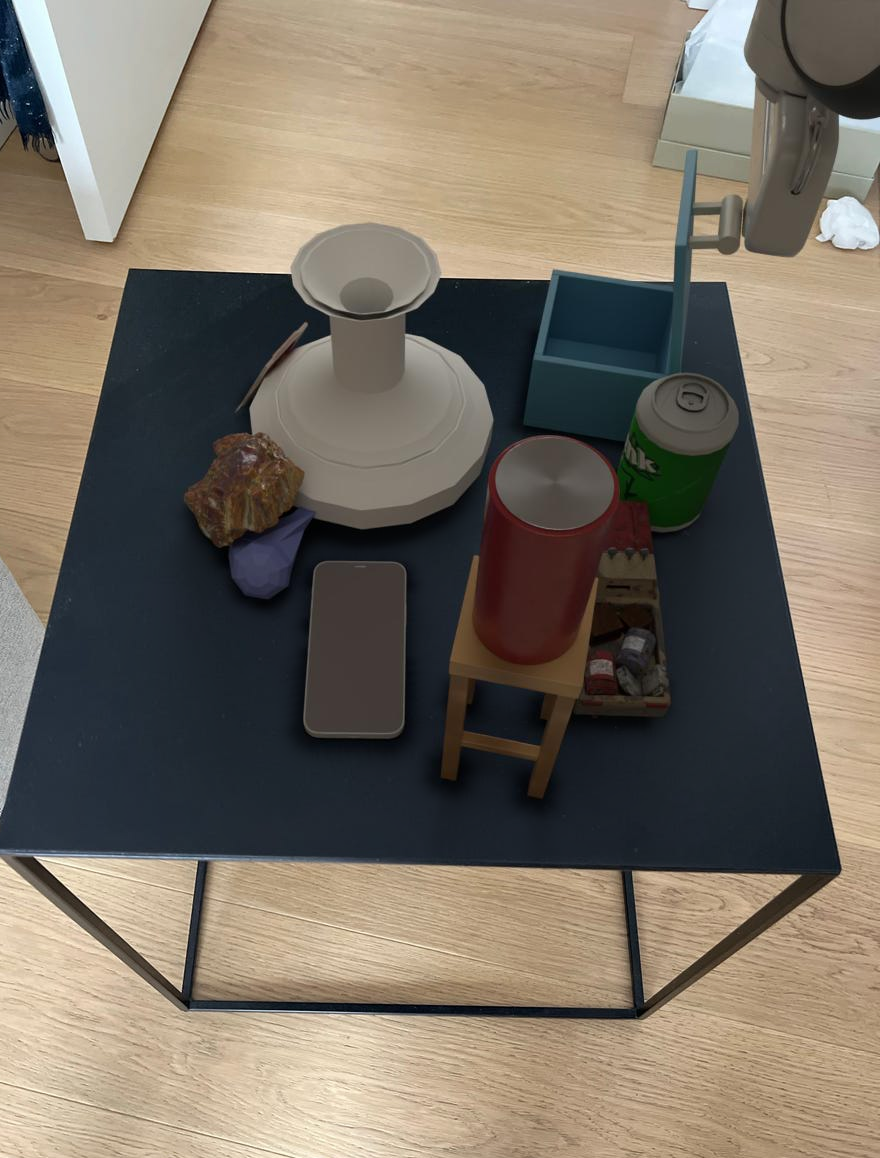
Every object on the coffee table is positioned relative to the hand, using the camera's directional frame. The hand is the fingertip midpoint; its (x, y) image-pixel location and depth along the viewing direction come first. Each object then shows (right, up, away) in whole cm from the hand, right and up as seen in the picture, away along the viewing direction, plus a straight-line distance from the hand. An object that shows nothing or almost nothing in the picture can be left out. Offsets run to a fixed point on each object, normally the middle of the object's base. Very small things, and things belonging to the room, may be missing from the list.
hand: (752, 227), depth 73 cm
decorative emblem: (-34, -3, +12) cm, 36 cm away
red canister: (-19, -29, -16) cm, 38 cm away
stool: (-19, -38, -1) cm, 42 cm away
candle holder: (-28, -15, +12) cm, 34 cm away
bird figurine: (-36, -24, +1) cm, 44 cm away
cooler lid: (-4, -1, +4) cm, 6 cm away
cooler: (-8, -8, +17) cm, 20 cm away
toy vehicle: (-10, -30, +4) cm, 31 cm away
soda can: (-5, -19, +10) cm, 22 cm away
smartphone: (-29, -31, +3) cm, 43 cm away
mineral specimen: (-40, -16, +2) cm, 43 cm away
